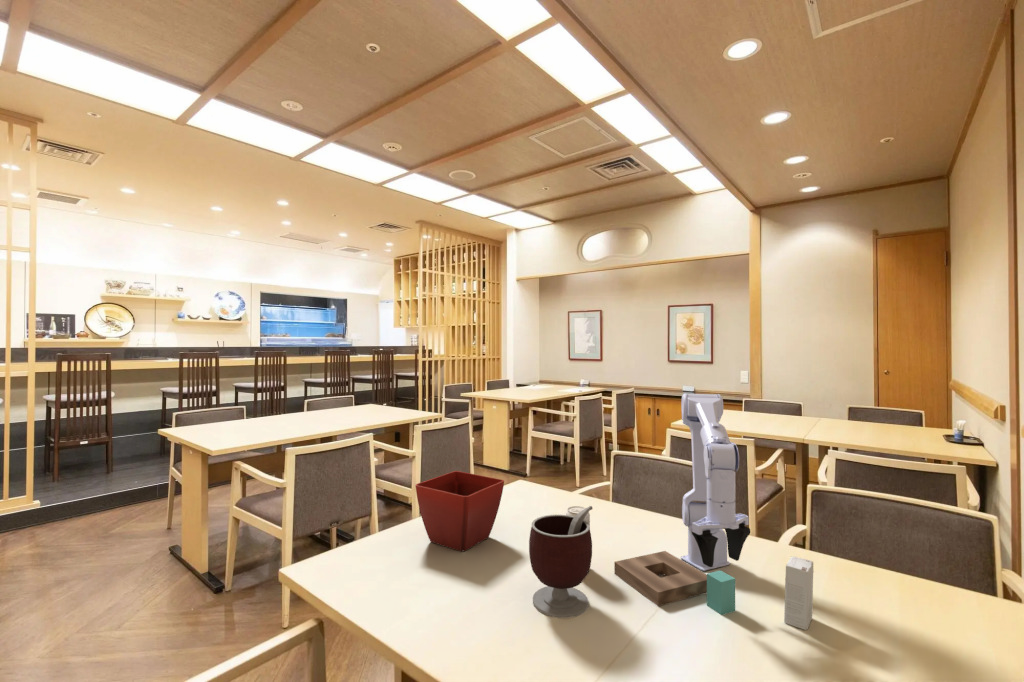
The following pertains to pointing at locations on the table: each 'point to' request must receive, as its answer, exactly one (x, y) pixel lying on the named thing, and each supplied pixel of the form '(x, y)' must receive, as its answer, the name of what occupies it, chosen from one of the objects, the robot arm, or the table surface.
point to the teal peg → (721, 592)
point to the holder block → (664, 590)
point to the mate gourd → (560, 562)
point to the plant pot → (459, 508)
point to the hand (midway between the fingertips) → (720, 561)
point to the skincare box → (798, 592)
